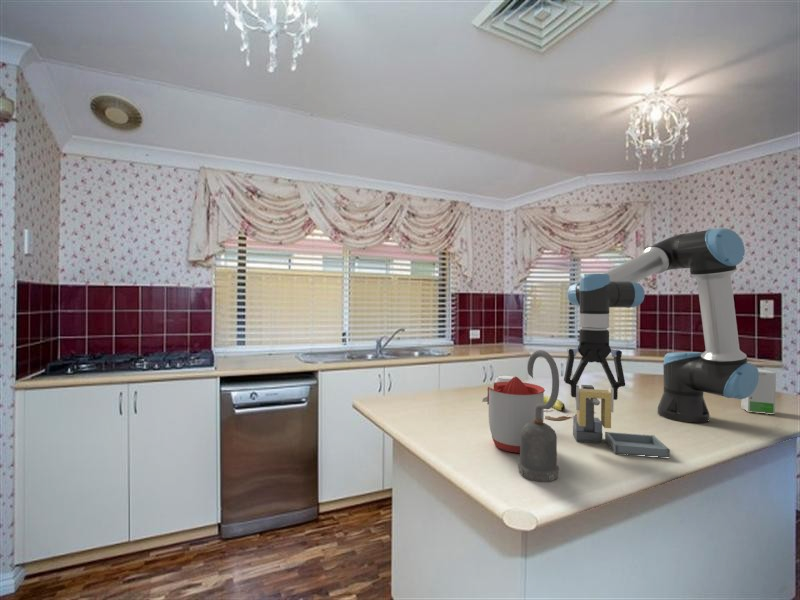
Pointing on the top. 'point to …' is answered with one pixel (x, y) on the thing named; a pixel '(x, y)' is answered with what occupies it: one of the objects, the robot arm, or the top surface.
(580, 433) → the grey faucet post
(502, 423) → the citrus juicer
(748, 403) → the skincare box
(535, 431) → the hook
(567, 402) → the top surface
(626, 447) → the tray
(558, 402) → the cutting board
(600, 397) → the wooden arch block
